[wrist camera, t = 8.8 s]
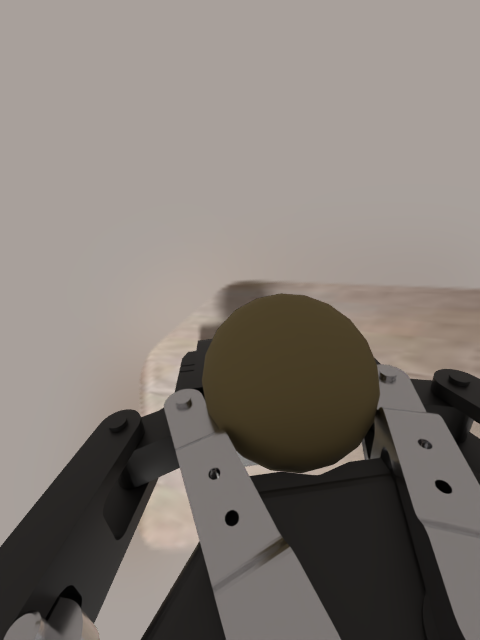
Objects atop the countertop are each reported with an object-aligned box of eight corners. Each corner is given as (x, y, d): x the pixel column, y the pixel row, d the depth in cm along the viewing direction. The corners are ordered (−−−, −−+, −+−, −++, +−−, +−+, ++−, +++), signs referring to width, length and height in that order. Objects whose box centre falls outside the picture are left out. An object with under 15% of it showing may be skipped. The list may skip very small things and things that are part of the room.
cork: (316, 444, 16) (463, 500, 5) (218, 451, 15) (173, 523, 5) (301, 348, 18) (385, 255, 7) (214, 354, 18) (177, 268, 7)
